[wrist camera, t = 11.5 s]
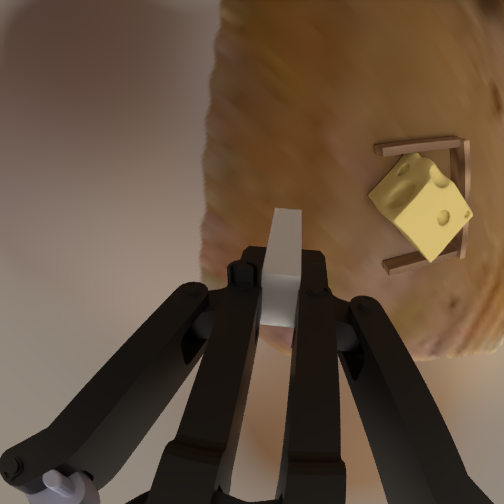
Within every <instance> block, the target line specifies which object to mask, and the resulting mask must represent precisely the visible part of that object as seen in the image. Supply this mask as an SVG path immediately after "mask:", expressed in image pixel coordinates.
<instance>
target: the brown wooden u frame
mask: <svg viewBox="0 0 504 504" xmlns="http://www.w3.org/2000/svg"><path fill="white" fill-rule="evenodd" d="M447 148H450V157H451V181H453V182H454V184H455V185H456V187H457V188H458V190H459V192H460V193H461V195H462V196H463V198H464V200H465V201H466V203H467V205H468V206H469V208H470V145H469V140H467V139H463V138H460V137H456V136H448V137H437V138H426V139H417V140H408V141H399V142H392V143H384V144H377V145H374V151H375V153H376V154H378V155H380V156H383V157H385V156H392V155H399V154H406V153H413V152H421V151H429V150H438V149H447ZM468 223H469V221H468V222H467V223H466V224H465V225H464V226H463V227H462V228H461V229H460V231H459V232H458V233H457V234H456V235H455V236H454V237H453V239H452V240H451V241H450V242H449V243H448V245H447V246H446V247H445V248H444V249H443V251H442V252H441V253H440V254H439V255H438V256H437V257H436V258H435V259H434V260H433V261H432V262H431V263H430V262H429V261H428V260H427V259H426V258H425V257H424V256H423V255H422V254H421V253H420V252H419V251H418V252H414V253H410V254H406V255H402V256H399V257H395V258H391V259H387V260H383V268H384V269H385V270H386V272H387V273H388V275H389V276H391V275H395V274H399V273H402V272H406V271H409V270H413V269H417V268H420V267H424V266H427V265H430V264H434V263H437V262H441V261H444V260H447V259H451V258H454V257H458V258H459V259H462V258H465V252H466V244H467V235H468Z"/></svg>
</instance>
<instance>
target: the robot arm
mask: <svg viewBox="0 0 504 504" xmlns="http://www.w3.org/2000/svg"><path fill="white" fill-rule="evenodd" d="M227 275H228V285H227V287H225V288H222V289H218V290H210V291H208V288H207V287H206V285H204V284H202V283H200V282H188V283H185V284H182V285H181V286H179V287H178V288H177V289H176V290H175V291H174V292H173V293H172V294H171V295H170V296H169V297H168V298H167V299H166V300H165V301H164V302H163V304H161V305H160V307H159V308H158V309H157V310H156V311H155V312H154V313H153V314H152V315H151V316H150V317H149V318H148V319H147V320H146V321H145V322H144V323H143V324H142V325H141V326H140V327H139V328H138V329H137V331H136V332H135V333H134V334H133V335H132V336H131V337H130V338H129V339H128V340H127V341H126V342H125V343H124V344H123V345H122V346H121V347H120V349H119V350H118V351H117V352H116V353H115V354H114V355H113V356H112V357H111V358H110V359H109V360H108V361H107V363H106V364H105V365H104V366H103V367H102V368H101V369H100V370H99V371H98V372H97V373H96V374H95V375H94V377H93V378H92V379H91V380H90V381H89V382H88V383H87V384H86V385H85V387H84V388H83V389H82V390H81V391H80V392H79V393H78V394H77V395H76V396H75V397H74V399H73V400H72V401H71V402H70V403H69V404H68V405H67V407H66V408H65V409H64V410H63V411H62V412H61V413H60V415H59V416H58V417H57V418H56V419H55V420H54V421H53V422H52V423H51V425H50V426H49V427H48V428H46V429H44V430H42V431H40V432H39V433H37V434H35V435H33V436H31V437H30V438H28V439H26V440H24V441H22V442H21V443H19V444H17V445H15V446H13V447H11V448H9V449H7V450H6V451H5V452H4V453H3V454H2V456H1V458H0V474H1V475H2V477H3V479H4V480H5V481H6V482H7V483H8V484H9V485H11V486H13V487H15V488H17V489H18V490H20V491H22V492H24V493H25V495H26V496H27V498H28V501H29V502H30V504H100V499H99V498H100V497H99V493H98V490H100V489H101V488H103V487H104V486H105V485H106V484H107V483H108V482H109V481H110V480H111V479H112V478H113V477H114V476H115V475H116V474H117V473H118V472H119V470H120V469H121V468H122V466H123V465H124V464H125V462H126V461H127V460H128V458H129V457H130V456H131V454H132V452H134V450H135V449H136V447H137V446H138V445H139V443H140V442H141V440H142V439H143V438H144V436H145V435H146V434H147V432H148V431H149V430H150V428H151V427H152V425H153V424H154V423H155V421H156V420H157V419H158V417H159V416H160V414H161V413H162V412H163V410H164V409H165V407H166V406H167V405H168V403H169V402H170V400H171V399H172V398H173V396H174V395H175V393H176V392H177V391H178V389H179V388H180V386H181V385H182V383H183V382H184V381H185V379H186V378H187V376H188V375H189V374H190V372H191V371H192V369H193V368H194V366H195V365H196V363H197V362H198V361H199V359H200V358H201V356H202V355H203V357H202V360H201V363H200V366H199V369H198V372H197V375H196V378H195V381H194V384H193V387H192V390H191V393H190V396H189V399H188V402H187V405H186V408H185V411H184V414H183V417H182V420H181V422H180V426H179V429H178V432H177V434H176V437H175V438H174V440H172V441H170V442H169V443H168V444H167V445H166V447H165V449H164V451H163V454H162V457H161V460H160V462H159V465H158V468H157V472H156V474H155V477H154V480H153V483H152V486H151V489H150V491H148V492H145V493H143V494H141V495H140V496H138V497H136V498H134V499H132V500H131V501H129V502H127V503H126V504H345V500H346V499H345V498H346V467H345V463H344V462H343V461H342V459H341V455H340V453H341V452H340V451H341V447H340V446H341V445H340V443H341V442H340V439H341V438H340V437H341V436H340V396H339V395H340V393H339V373H338V357H339V359H340V362H341V365H342V367H343V370H344V373H345V375H346V378H347V381H348V384H349V386H350V389H351V392H352V395H353V398H354V400H355V403H356V406H357V409H358V412H359V415H360V417H361V420H362V423H363V426H364V429H365V432H366V435H367V438H368V441H369V444H370V447H371V450H372V453H373V457H374V459H375V463H376V466H377V469H378V472H379V475H380V479H381V482H382V485H383V488H384V492H385V495H386V499H387V502H388V504H494V503H493V502H492V501H491V500H490V499H489V498H488V497H487V496H486V495H485V494H484V492H483V491H482V490H481V489H480V488H479V487H478V486H477V485H476V484H475V483H474V482H473V480H471V479H470V477H469V476H468V475H467V472H466V470H465V467H464V465H463V462H462V460H461V457H460V455H459V453H458V450H457V448H456V446H455V443H454V441H453V439H452V437H451V434H450V432H449V430H448V428H447V426H446V424H445V422H444V420H443V417H442V415H441V413H440V411H439V409H438V407H437V405H436V403H435V401H434V399H433V397H432V395H431V393H430V391H429V389H428V387H427V385H426V383H425V381H424V380H423V378H422V376H421V374H420V372H419V370H418V368H417V366H416V365H415V363H414V361H413V359H412V357H411V356H410V354H409V352H408V350H407V348H406V347H405V345H404V343H403V341H402V340H401V338H400V336H399V334H398V333H397V331H396V329H395V328H394V326H393V324H392V323H391V321H390V319H389V318H388V316H387V314H386V313H385V311H384V309H383V308H382V306H381V304H380V303H379V302H378V301H377V300H375V299H374V298H372V297H368V296H357V297H354V298H353V299H352V300H351V302H348V301H344V300H341V299H339V298H337V297H335V296H334V295H333V294H332V292H331V289H330V288H329V287H328V279H327V270H326V262H325V256H324V255H323V254H322V253H321V251H315V250H303V249H301V210H295V209H282V208H275V212H274V216H273V221H272V226H271V231H270V236H269V241H268V246H267V247H256V246H249V247H247V248H246V249H245V250H244V251H243V254H242V256H241V259H240V260H237V261H234V262H232V263H230V264H229V265H228V267H227ZM259 324H263V325H273V326H284V327H294V332H293V339H292V345H291V348H292V356H291V369H290V381H289V392H288V402H287V412H286V422H285V431H284V440H283V449H282V457H281V465H280V472H279V480H278V485H277V490H276V495H275V500H267V501H259V502H245V501H242V500H240V499H237V498H235V497H232V496H230V495H229V492H230V486H231V476H232V470H233V465H234V461H235V456H236V451H237V446H238V441H239V436H240V431H241V426H242V421H243V416H244V411H245V405H246V400H247V395H248V390H249V385H250V380H251V374H252V369H253V364H254V358H255V353H256V347H257V342H258V336H259ZM337 354H338V355H337Z"/></svg>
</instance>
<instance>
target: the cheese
mask: <svg viewBox="0 0 504 504" xmlns="http://www.w3.org/2000/svg"><path fill="white" fill-rule="evenodd" d="M368 197H369V198H370V199H371V200H372V202H373V203H374V205H375V206H376V208H377V209H378V210H379V211H380V212H381V213H382V214H383V215H384V216H385V217H386V218H387V219H389V220H390V221H391V222H392V223H393V224H394V225H395V226H396V227H397V229H398V230H399V231H400V232H401V233H402V234H403V236H404V237H405V238H406V239H407V240H408V241H409V242H410V243H411V244H412V245H413V246H414V247H415V248H416V249H417V250H418V251H419V252H420V253H421V254H422V255H423V256H424V257H425V258H426V259H427V260H428V261H429V262H430V263H431V262H432V261H433V260H434V259H435V258H436V257H437V256H438V255H439V254H440V253H441V252H442V251H443V249H444V248H445V247H446V246H447V245H448V243H449V242H450V241H451V240H452V239H453V237H454V236H455V235H456V234H457V233H458V232H459V231H460V229H461V228H462V227H463V226H464V225H465V224H466V223H467V222H468V221H469V220H470V218H471V217H472V216H473V213H472V211H471V210H470V208H469V206H468V205H467V203H466V201H465V200H464V198H463V196H462V195H461V193H460V192H459V190H458V188H457V187H456V185H455V184H454V182H453V181H451V180H450V179H448V178H447V177H445V176H444V175H443V174H442V173H441V172H440V171H439V169H438V168H437V166H436V165H435V163H434V162H433V161H432V160H430V159H428V158H426V157H424V158H422V157H421V156H420V155H419V154H418V153H417V152H413V153H406V154H403V156H402V157H401V158H400V160H399V161H398V163H397V164H396V165H395V166H394V167H393V168H392V170H391V171H390V172H389V173H388V174H387V175H386V176H385V177H384V178H383V179H382V181H381V182H380V183H379V184H378V185H377V186H376V187H375V188H374V189H373V190H372V191H371V192H370V193H369V194H368Z"/></svg>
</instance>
